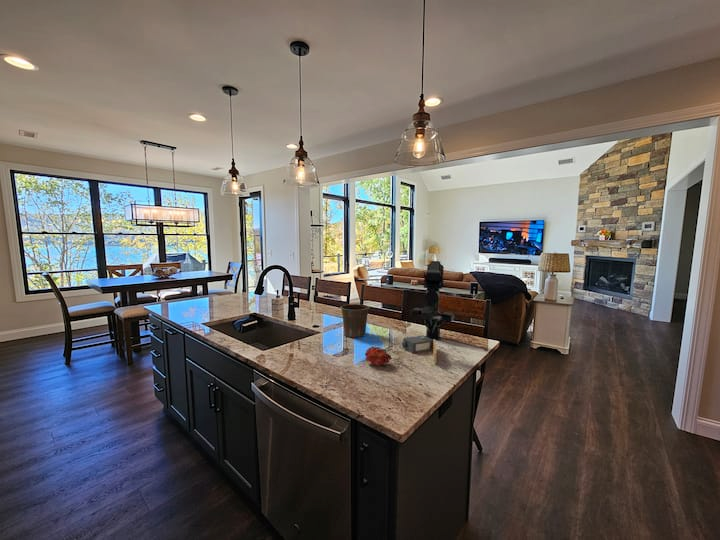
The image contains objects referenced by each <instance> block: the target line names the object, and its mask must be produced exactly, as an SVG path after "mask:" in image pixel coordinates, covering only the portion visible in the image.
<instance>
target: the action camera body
mask: <svg viewBox="0 0 720 540" xmlns="http://www.w3.org/2000/svg"><path fill="white" fill-rule="evenodd" d="M426 336H427V335H424V334H423V335H417V336H416V335H415V336H409V337H403V341H402V343H401V345H402V348H403V349H404V350H406V351H408V352H409V353H411V354H416V353H423V352H429V351H433V340H432V339H430V338H428V337H426Z"/></svg>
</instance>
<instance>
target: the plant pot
mask: <svg viewBox="0 0 720 540" xmlns="http://www.w3.org/2000/svg"><path fill="white" fill-rule="evenodd" d="M340 309H341V315H342V325H343V335H344V336H346V337H349V338H359V337H360V338H362V337H364V336H366V334H367V333H366V331H367V321H368V314H369V309H370V305H366V304H362V303H361V304H360V303H359V304H358V303H351V304H343V305H341V306H340Z"/></svg>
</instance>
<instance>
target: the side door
mask: <svg viewBox="0 0 720 540" xmlns="http://www.w3.org/2000/svg"><path fill="white" fill-rule="evenodd" d="M432 352H433V353H432V354H433V364H434V365H437V362H438V352H437V345H436V339H433V350H432Z"/></svg>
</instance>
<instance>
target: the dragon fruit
mask: <svg viewBox="0 0 720 540" xmlns="http://www.w3.org/2000/svg"><path fill="white" fill-rule="evenodd" d="M364 355H365V358H364V360H366V361H368V362H369V363H370V364H371V366H372V367H374V366H379V367H380V368H383V367H386V365H385V364H389V362H390V360H393V359H392V356H391V354H389V353H387V351H386V350H385V349H383V348H380V346H377V347H376V346H373V345H372V346H371V347H368V349H366V351H365V353H364Z"/></svg>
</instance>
